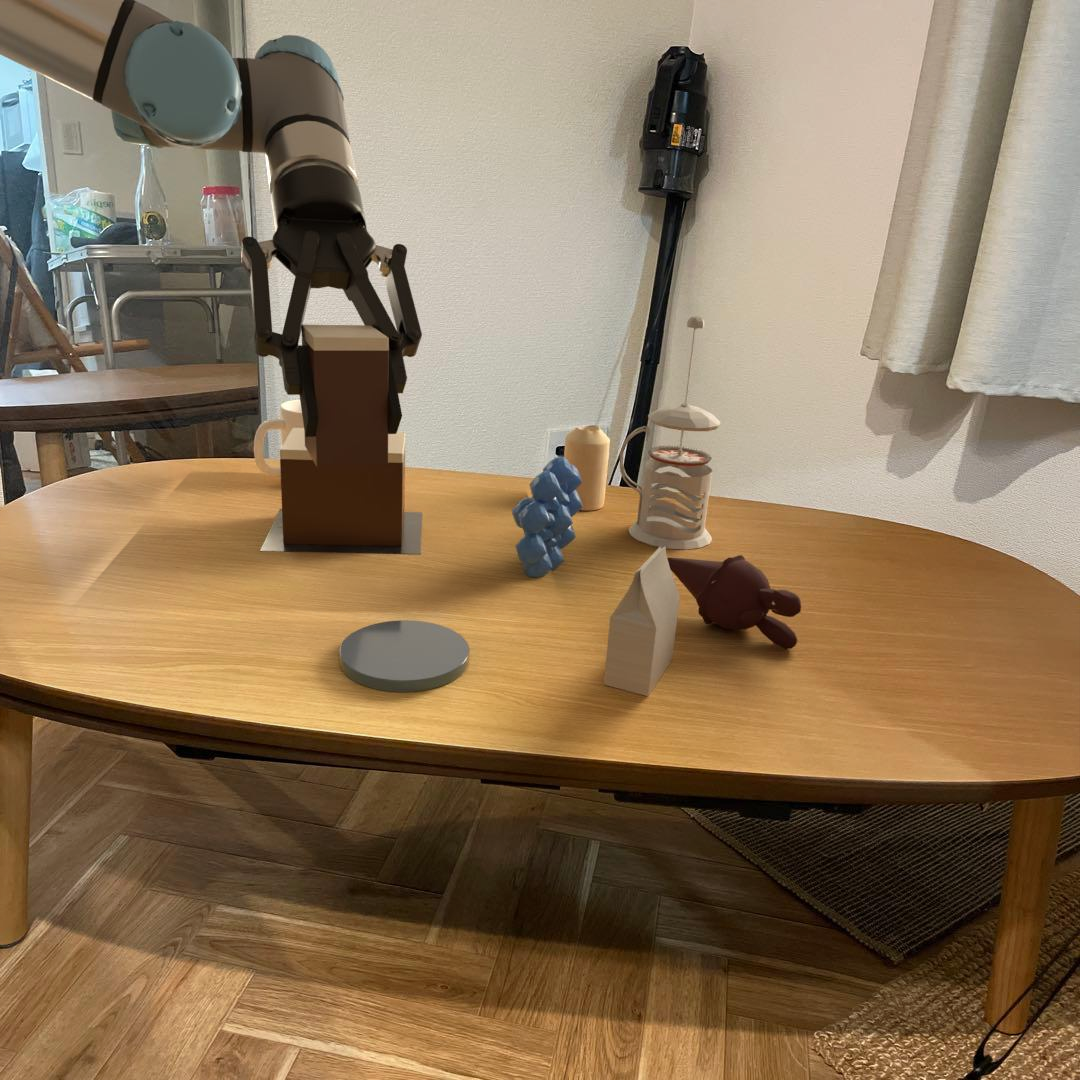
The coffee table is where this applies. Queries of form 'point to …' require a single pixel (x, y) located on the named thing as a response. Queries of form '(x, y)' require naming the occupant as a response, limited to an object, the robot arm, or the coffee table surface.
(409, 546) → the cake board
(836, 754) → the coffee table surface
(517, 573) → the coffee table surface
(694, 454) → the french press
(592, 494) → the candle
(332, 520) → the cake
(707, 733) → the coffee table surface
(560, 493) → the grapes
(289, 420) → the cup
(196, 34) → the robot arm
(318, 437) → the cake slice
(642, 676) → the beige milk carton
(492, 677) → the coffee table surface
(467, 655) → the plate
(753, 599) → the icecream
